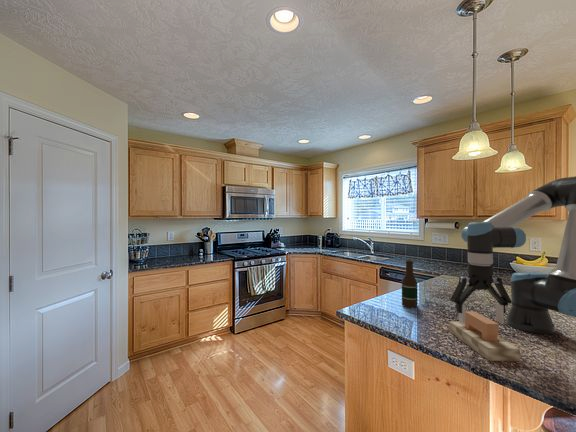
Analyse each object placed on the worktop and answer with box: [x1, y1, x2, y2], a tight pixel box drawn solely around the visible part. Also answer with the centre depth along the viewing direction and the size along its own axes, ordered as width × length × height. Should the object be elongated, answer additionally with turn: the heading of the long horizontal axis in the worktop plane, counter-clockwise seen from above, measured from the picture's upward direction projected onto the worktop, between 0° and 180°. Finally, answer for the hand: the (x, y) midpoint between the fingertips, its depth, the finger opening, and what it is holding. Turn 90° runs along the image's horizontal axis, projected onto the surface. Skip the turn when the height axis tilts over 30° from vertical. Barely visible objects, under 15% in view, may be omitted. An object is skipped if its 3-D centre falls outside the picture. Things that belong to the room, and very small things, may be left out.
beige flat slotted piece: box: [448, 321, 521, 362], centre depth 95 cm, size 10×22×4 cm, turn 178°
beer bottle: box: [401, 259, 419, 309], centre depth 138 cm, size 8×8×24 cm
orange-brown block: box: [465, 310, 500, 342], centre depth 95 cm, size 12×4×10 cm, turn 178°
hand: (480, 321), depth 96 cm, fingers open, 13 cm apart
